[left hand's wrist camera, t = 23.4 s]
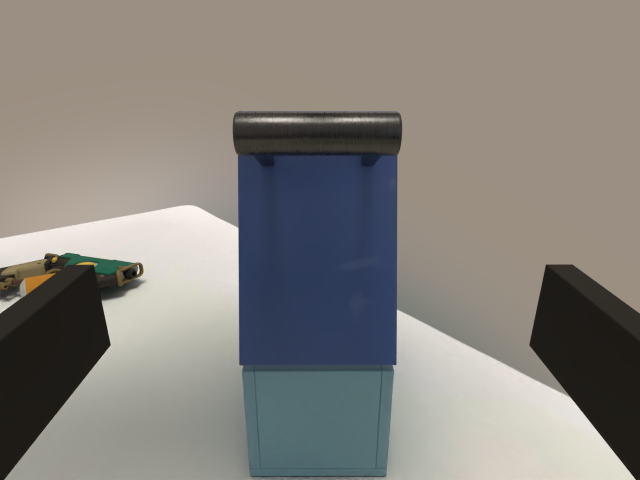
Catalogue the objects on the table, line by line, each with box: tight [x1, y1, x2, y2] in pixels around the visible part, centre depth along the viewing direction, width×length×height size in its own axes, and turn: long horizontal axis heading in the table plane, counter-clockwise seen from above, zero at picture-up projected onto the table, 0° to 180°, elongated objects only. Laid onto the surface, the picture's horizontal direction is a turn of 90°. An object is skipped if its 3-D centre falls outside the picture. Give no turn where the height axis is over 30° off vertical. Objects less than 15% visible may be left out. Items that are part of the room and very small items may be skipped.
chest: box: [242, 365, 394, 476], centre depth 34 cm, size 14×9×9 cm, turn 0°
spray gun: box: [0, 253, 143, 298], centre depth 54 cm, size 4×17×15 cm
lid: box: [233, 111, 402, 365], centre depth 21 cm, size 15×9×9 cm
